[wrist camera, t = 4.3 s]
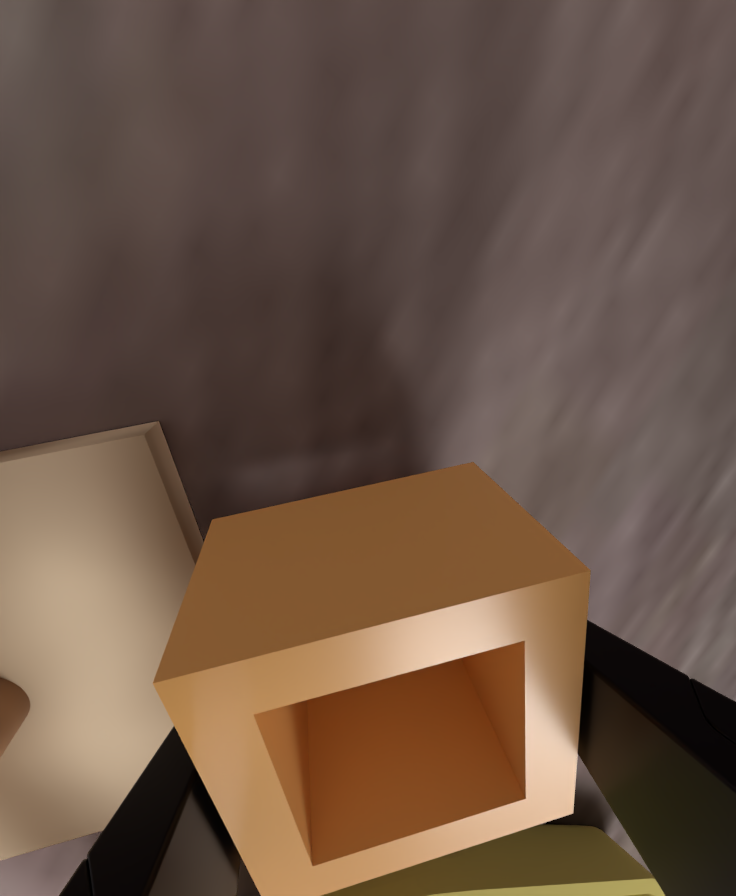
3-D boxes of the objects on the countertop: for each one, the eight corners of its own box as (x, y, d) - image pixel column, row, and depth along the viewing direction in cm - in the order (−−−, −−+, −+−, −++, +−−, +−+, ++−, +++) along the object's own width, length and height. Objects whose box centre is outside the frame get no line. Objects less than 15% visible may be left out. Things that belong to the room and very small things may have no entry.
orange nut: (473, 462, 9) (590, 570, 6) (484, 649, 12) (573, 813, 8) (212, 519, 9) (152, 683, 5) (277, 705, 11) (270, 912, 7)
